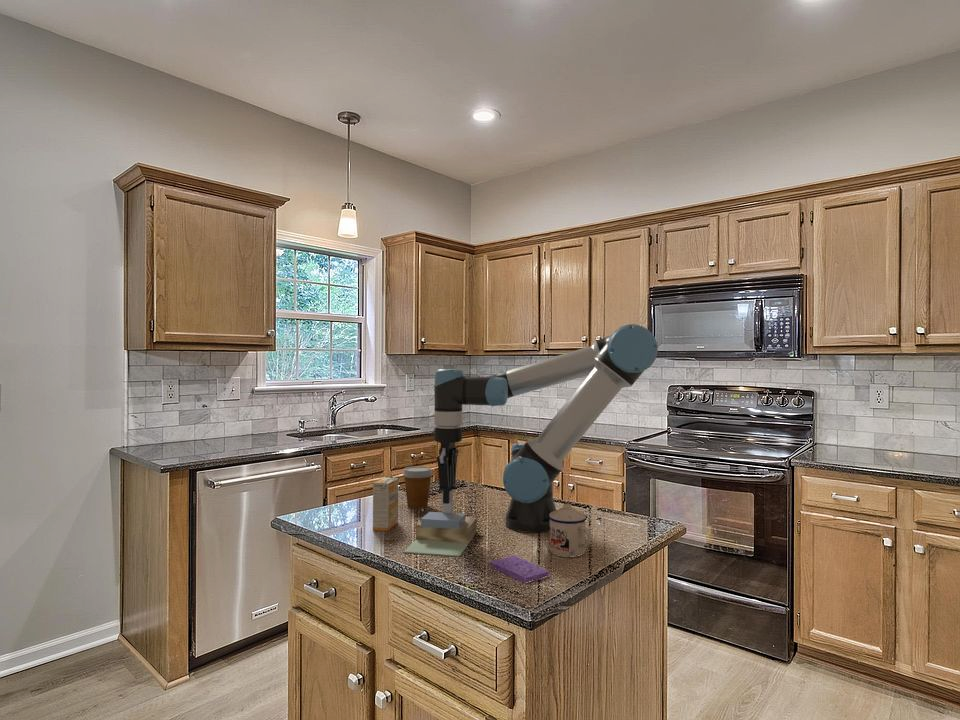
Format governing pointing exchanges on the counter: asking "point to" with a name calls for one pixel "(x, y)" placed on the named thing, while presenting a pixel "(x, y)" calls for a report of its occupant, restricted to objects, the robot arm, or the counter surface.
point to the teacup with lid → (568, 532)
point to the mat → (437, 548)
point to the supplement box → (385, 503)
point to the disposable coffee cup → (417, 486)
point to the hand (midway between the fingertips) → (447, 514)
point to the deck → (448, 532)
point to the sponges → (519, 568)
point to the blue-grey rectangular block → (443, 520)
